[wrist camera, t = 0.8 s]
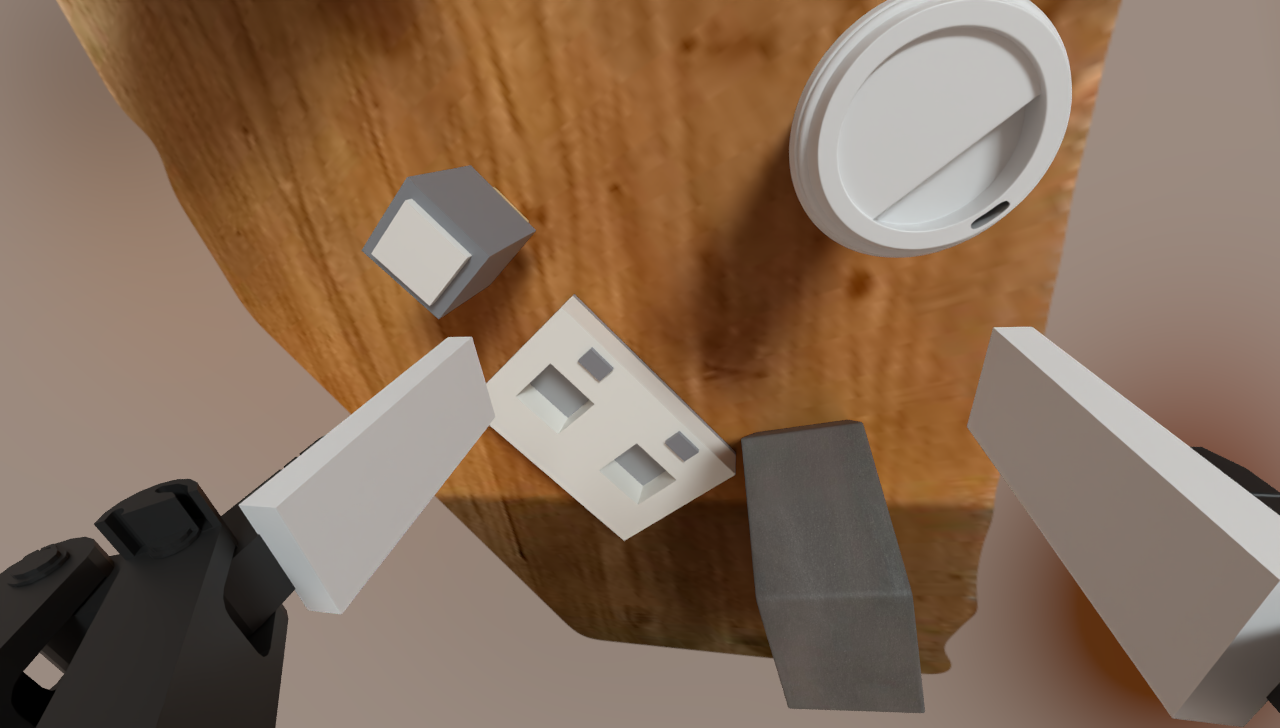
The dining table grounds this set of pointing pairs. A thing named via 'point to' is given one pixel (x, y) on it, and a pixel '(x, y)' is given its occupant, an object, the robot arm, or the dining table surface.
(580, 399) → the socket plate
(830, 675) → the grey hexagonal prism
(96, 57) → the dining table surface
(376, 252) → the plug
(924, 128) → the coffee cup
